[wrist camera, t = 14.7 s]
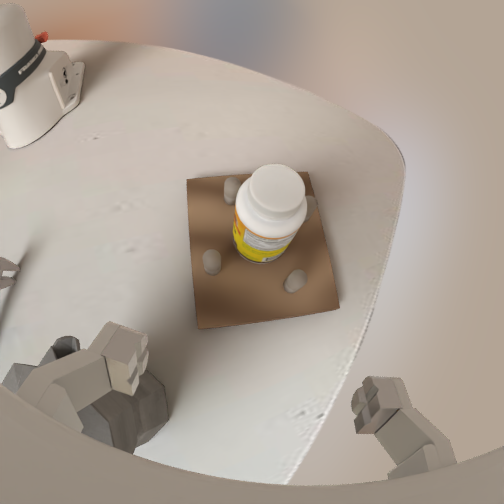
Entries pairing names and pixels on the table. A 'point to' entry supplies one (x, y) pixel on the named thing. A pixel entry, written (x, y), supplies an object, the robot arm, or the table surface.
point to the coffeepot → (109, 404)
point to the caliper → (6, 265)
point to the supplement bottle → (268, 213)
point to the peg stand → (252, 274)
